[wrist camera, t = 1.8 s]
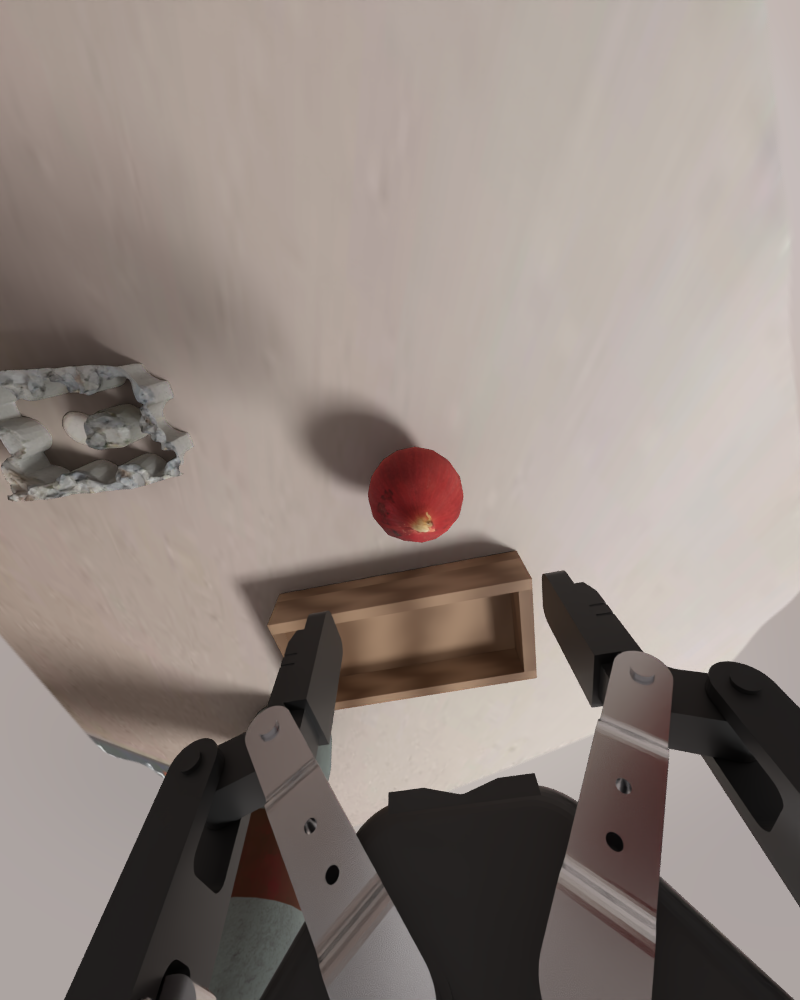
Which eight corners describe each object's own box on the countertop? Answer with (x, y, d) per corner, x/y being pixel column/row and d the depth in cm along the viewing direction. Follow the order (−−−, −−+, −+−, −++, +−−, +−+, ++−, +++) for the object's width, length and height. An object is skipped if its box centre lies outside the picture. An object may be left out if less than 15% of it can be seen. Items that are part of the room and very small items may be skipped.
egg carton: (57, 479, 26) (1, 506, 22) (-2, 368, 22) (-81, 377, 18) (206, 470, 25) (174, 495, 22) (169, 356, 22) (124, 363, 18)
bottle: (241, 742, 39) (-69, 1633, 13) (254, 690, 36) (-150, 1807, 9) (325, 755, 41) (205, 1573, 14) (346, 707, 37) (237, 1697, 10)
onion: (402, 521, 27) (406, 592, 20) (354, 464, 25) (341, 521, 18) (467, 479, 26) (496, 540, 19) (422, 415, 24) (437, 456, 17)
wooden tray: (319, 678, 35) (312, 713, 32) (279, 594, 30) (267, 625, 27) (523, 644, 34) (536, 677, 31) (516, 550, 29) (531, 578, 26)
